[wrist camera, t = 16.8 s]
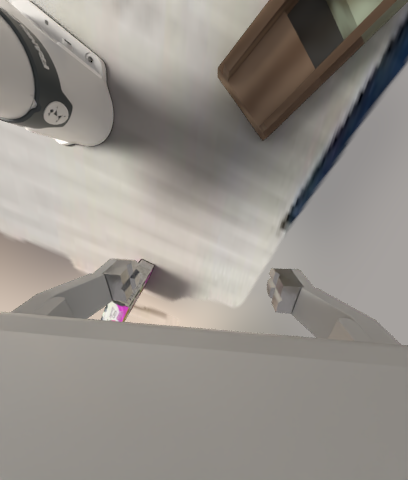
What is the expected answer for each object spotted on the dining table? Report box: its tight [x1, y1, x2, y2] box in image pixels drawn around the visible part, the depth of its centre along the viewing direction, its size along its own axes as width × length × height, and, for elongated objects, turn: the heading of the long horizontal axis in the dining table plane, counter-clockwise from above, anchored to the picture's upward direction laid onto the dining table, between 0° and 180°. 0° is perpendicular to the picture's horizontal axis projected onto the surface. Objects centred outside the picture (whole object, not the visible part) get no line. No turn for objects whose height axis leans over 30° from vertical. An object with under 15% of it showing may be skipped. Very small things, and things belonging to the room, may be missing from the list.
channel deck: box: [218, 0, 408, 141], centre depth 24 cm, size 14×24×6 cm, turn 134°
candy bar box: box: [101, 259, 155, 322], centre depth 42 cm, size 11×5×16 cm, turn 151°
